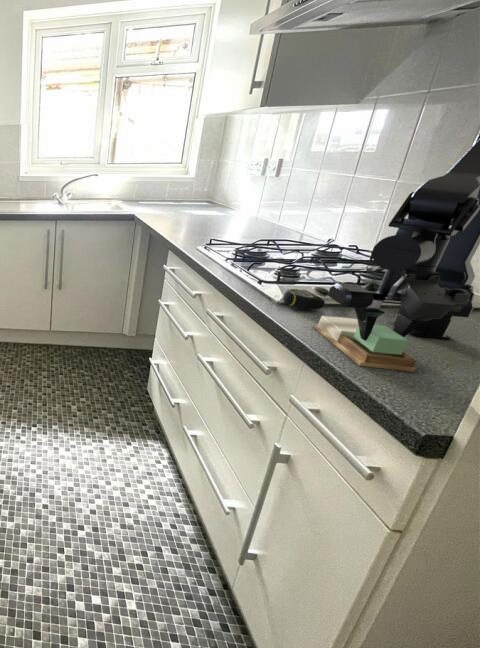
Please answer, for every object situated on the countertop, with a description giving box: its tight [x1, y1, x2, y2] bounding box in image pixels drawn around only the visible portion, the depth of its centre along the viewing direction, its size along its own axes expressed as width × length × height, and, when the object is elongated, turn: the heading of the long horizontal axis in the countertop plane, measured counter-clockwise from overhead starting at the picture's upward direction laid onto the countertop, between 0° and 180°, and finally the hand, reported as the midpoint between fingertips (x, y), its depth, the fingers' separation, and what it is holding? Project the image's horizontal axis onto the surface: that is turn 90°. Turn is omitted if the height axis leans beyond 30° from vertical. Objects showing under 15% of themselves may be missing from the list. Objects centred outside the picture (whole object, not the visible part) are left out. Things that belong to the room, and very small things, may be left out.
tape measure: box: [282, 288, 326, 311], centre depth 101 cm, size 7×7×4 cm
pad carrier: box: [315, 315, 417, 373], centre depth 82 cm, size 16×8×3 cm, turn 166°
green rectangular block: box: [353, 324, 409, 355], centre depth 78 cm, size 6×4×3 cm
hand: (378, 340), depth 78 cm, fingers closed on green rectangular block, 4 cm apart
